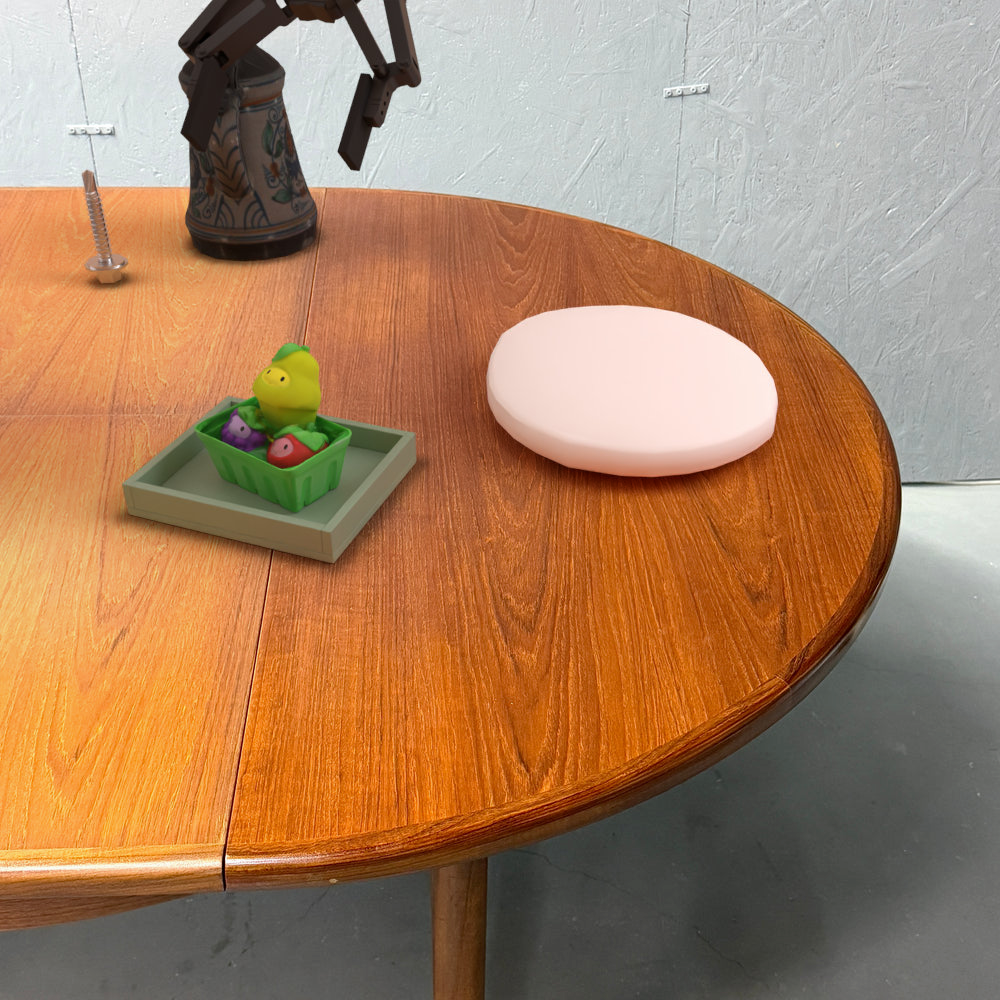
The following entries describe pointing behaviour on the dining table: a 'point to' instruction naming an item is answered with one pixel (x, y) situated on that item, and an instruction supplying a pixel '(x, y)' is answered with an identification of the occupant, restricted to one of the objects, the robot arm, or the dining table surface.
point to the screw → (101, 236)
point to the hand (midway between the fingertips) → (268, 152)
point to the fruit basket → (279, 435)
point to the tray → (252, 519)
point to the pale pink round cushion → (630, 391)
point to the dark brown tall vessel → (249, 170)
